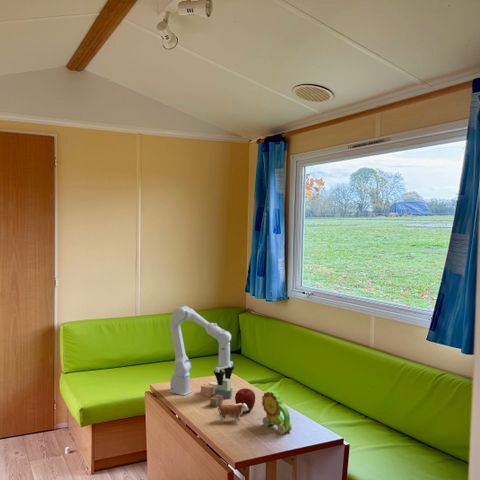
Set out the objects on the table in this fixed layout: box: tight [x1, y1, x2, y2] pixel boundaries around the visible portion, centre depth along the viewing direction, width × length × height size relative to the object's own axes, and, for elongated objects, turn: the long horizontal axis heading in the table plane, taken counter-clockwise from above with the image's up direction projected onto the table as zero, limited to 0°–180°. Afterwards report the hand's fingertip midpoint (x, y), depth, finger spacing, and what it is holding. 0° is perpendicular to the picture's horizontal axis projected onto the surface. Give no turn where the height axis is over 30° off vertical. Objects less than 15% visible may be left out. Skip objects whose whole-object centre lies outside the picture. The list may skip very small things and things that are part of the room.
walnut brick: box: [209, 394, 224, 409], centre depth 237 cm, size 6×3×4 cm, turn 152°
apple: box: [234, 387, 256, 413], centre depth 231 cm, size 10×10×10 cm
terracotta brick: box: [200, 384, 215, 397], centre depth 253 cm, size 6×3×4 cm, turn 61°
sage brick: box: [217, 377, 232, 391], centre depth 249 cm, size 6×3×5 cm, turn 61°
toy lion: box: [261, 390, 293, 435], centre depth 212 cm, size 16×5×15 cm, turn 37°
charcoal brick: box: [214, 387, 233, 400], centre depth 249 cm, size 8×5×4 cm, turn 81°
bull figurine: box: [217, 403, 249, 423], centre depth 219 cm, size 4×13×8 cm, turn 89°
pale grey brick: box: [208, 381, 217, 393], centre depth 257 cm, size 6×3×4 cm, turn 60°
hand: (223, 382), depth 249 cm, fingers open, 7 cm apart
